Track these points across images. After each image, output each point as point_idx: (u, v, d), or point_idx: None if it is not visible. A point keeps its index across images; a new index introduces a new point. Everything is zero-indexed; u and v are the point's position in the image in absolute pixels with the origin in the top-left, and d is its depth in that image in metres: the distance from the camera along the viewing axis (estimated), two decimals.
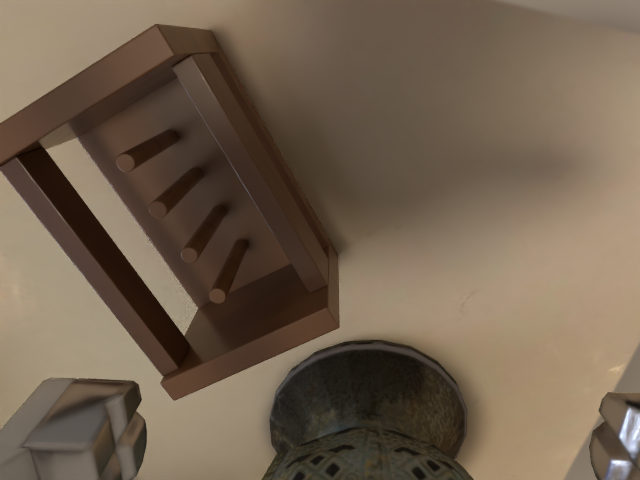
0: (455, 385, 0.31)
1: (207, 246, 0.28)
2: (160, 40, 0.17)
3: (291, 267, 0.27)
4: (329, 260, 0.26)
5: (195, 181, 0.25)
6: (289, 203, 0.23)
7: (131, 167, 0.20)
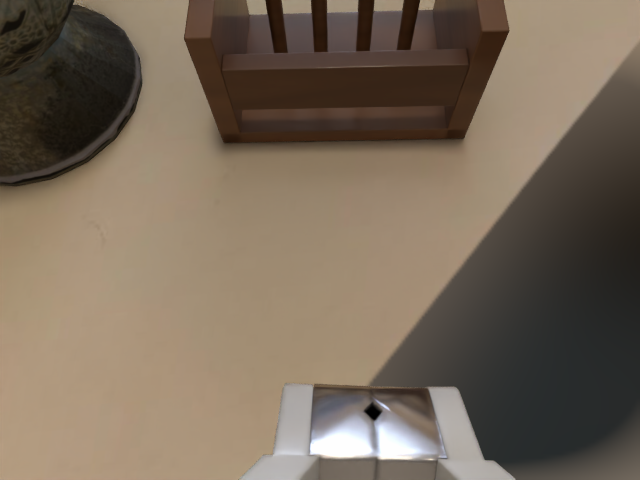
0: (13, 179, 0.27)
1: (297, 46, 0.30)
2: (496, 27, 0.21)
3: None
4: (232, 111, 0.26)
5: None
6: (307, 92, 0.24)
7: None
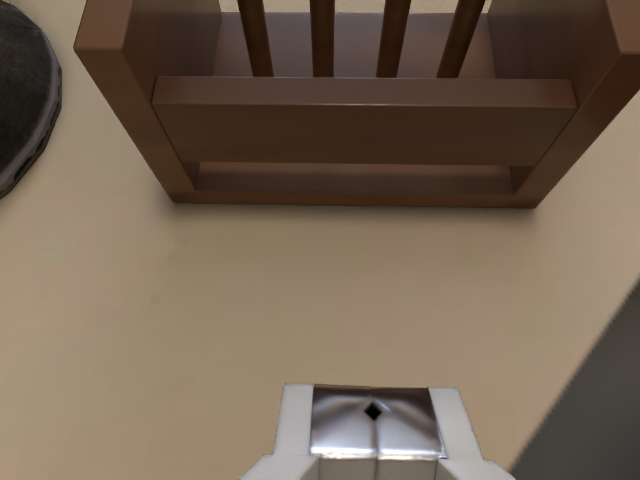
0: None
1: (289, 60, 0.20)
2: None
3: None
4: (178, 162, 0.16)
5: (382, 77, 0.18)
6: (299, 140, 0.15)
7: None
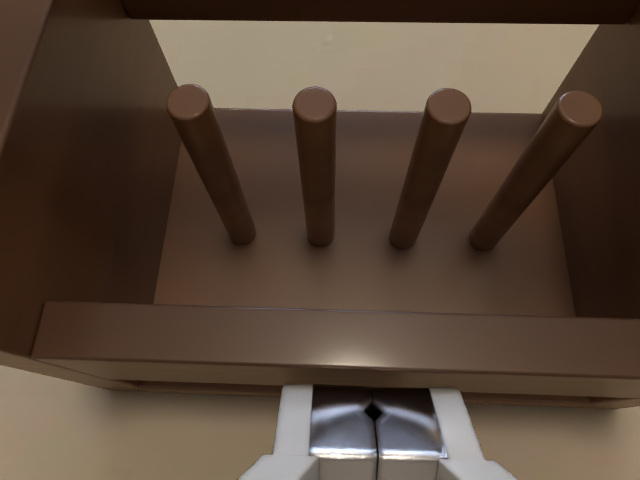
0: None
1: (275, 181, 0.15)
2: None
3: (145, 292, 0.13)
4: (102, 379, 0.11)
5: (403, 227, 0.13)
6: (278, 378, 0.09)
7: (566, 111, 0.08)
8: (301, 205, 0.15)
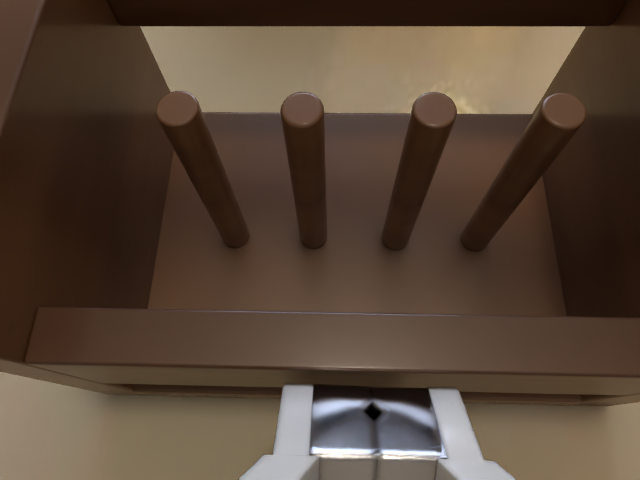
0: None
1: (268, 184, 0.15)
2: None
3: (140, 296, 0.13)
4: (97, 383, 0.11)
5: (394, 229, 0.13)
6: (270, 380, 0.10)
7: (550, 115, 0.09)
8: (294, 208, 0.15)
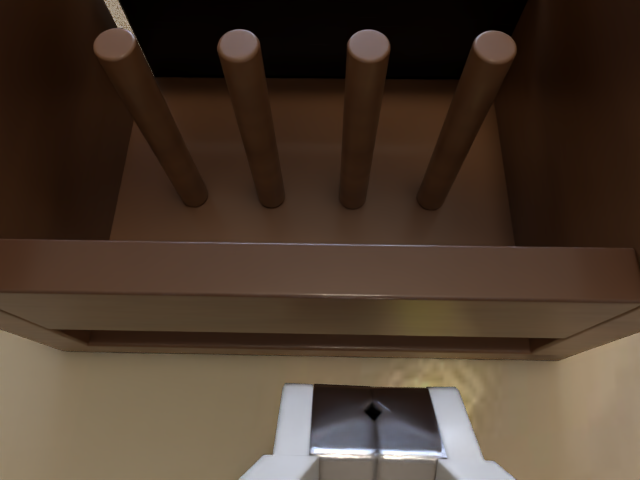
0: None
1: (228, 146, 0.15)
2: None
3: None
4: (44, 329, 0.11)
5: (348, 184, 0.13)
6: (210, 318, 0.10)
7: (481, 50, 0.09)
8: None
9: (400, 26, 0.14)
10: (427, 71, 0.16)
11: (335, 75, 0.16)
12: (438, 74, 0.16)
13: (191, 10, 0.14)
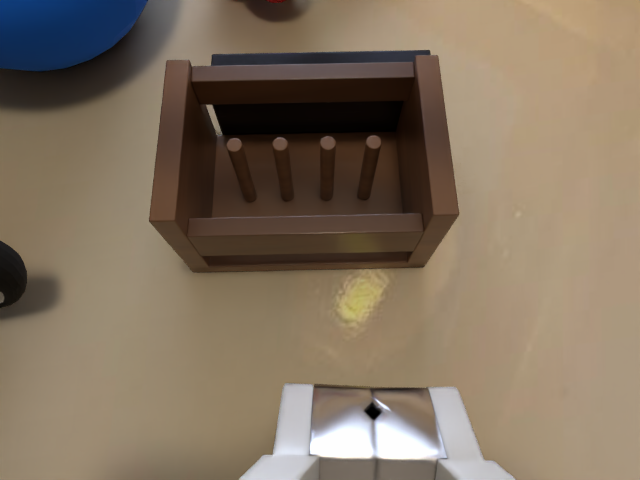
0: None
1: (264, 171, 0.30)
2: (447, 211, 0.22)
3: None
4: (199, 256, 0.26)
5: (323, 190, 0.28)
6: (271, 246, 0.25)
7: (368, 144, 0.24)
8: (277, 182, 0.30)
9: (346, 112, 0.29)
10: (362, 128, 0.31)
11: (316, 132, 0.31)
12: (368, 130, 0.31)
13: (247, 108, 0.29)
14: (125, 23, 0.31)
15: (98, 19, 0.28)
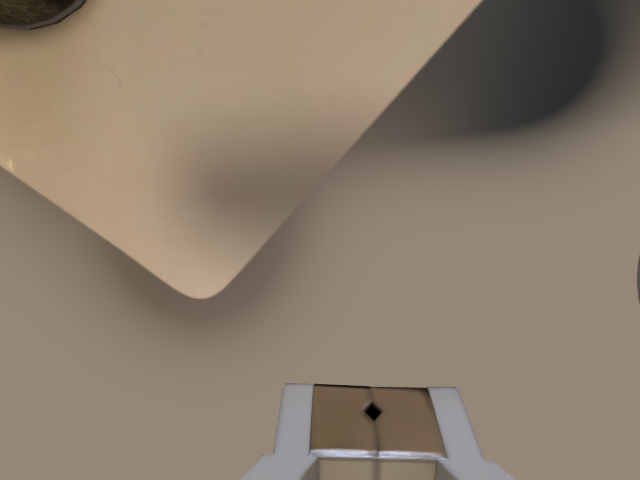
0: (28, 28, 0.33)
1: None
2: None
3: None
4: None
5: None
6: None
7: None
8: None
9: None
10: None
11: None
12: None
13: None
14: None
15: None
